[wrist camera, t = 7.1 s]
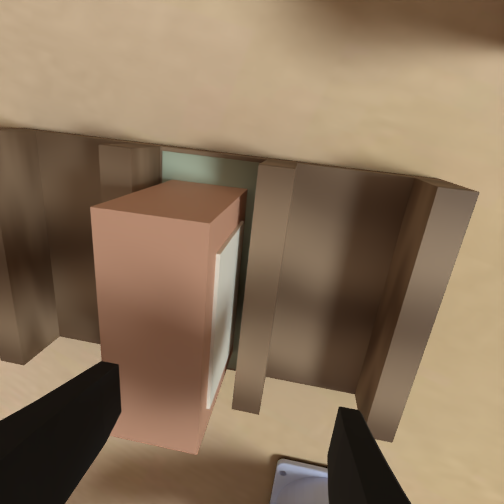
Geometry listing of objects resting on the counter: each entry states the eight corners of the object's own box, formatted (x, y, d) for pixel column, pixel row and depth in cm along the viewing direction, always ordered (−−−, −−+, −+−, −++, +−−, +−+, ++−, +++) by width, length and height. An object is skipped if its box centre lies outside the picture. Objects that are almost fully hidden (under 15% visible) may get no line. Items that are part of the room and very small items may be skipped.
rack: (377, 387, 21) (392, 442, 17) (50, 324, 23) (0, 360, 19) (439, 179, 16) (479, 192, 12) (25, 128, 19) (-46, 126, 15)
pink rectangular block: (250, 189, 17) (214, 224, 10) (235, 352, 20) (200, 455, 14) (169, 179, 17) (85, 206, 11) (168, 339, 21) (104, 434, 14)
